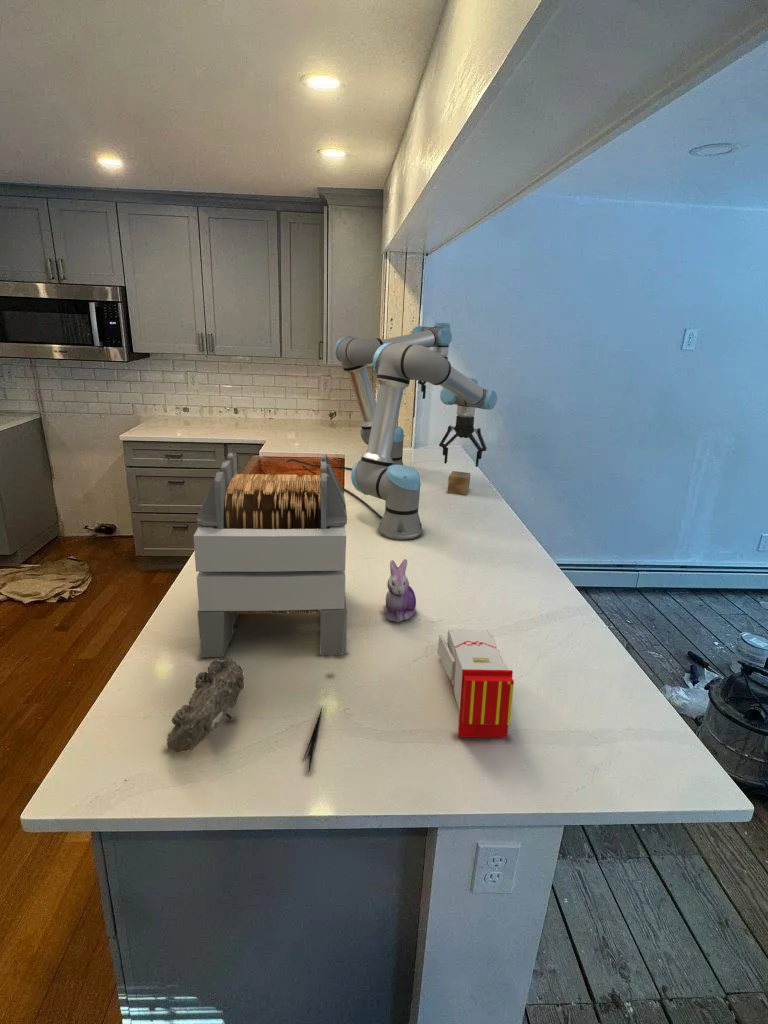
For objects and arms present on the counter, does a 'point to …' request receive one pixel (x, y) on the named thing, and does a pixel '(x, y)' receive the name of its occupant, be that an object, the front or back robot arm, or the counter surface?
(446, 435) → the front robot arm
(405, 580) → the figurine
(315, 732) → the feather
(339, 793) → the counter surface
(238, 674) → the fossil
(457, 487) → the block
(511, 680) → the toy
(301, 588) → the record crate
